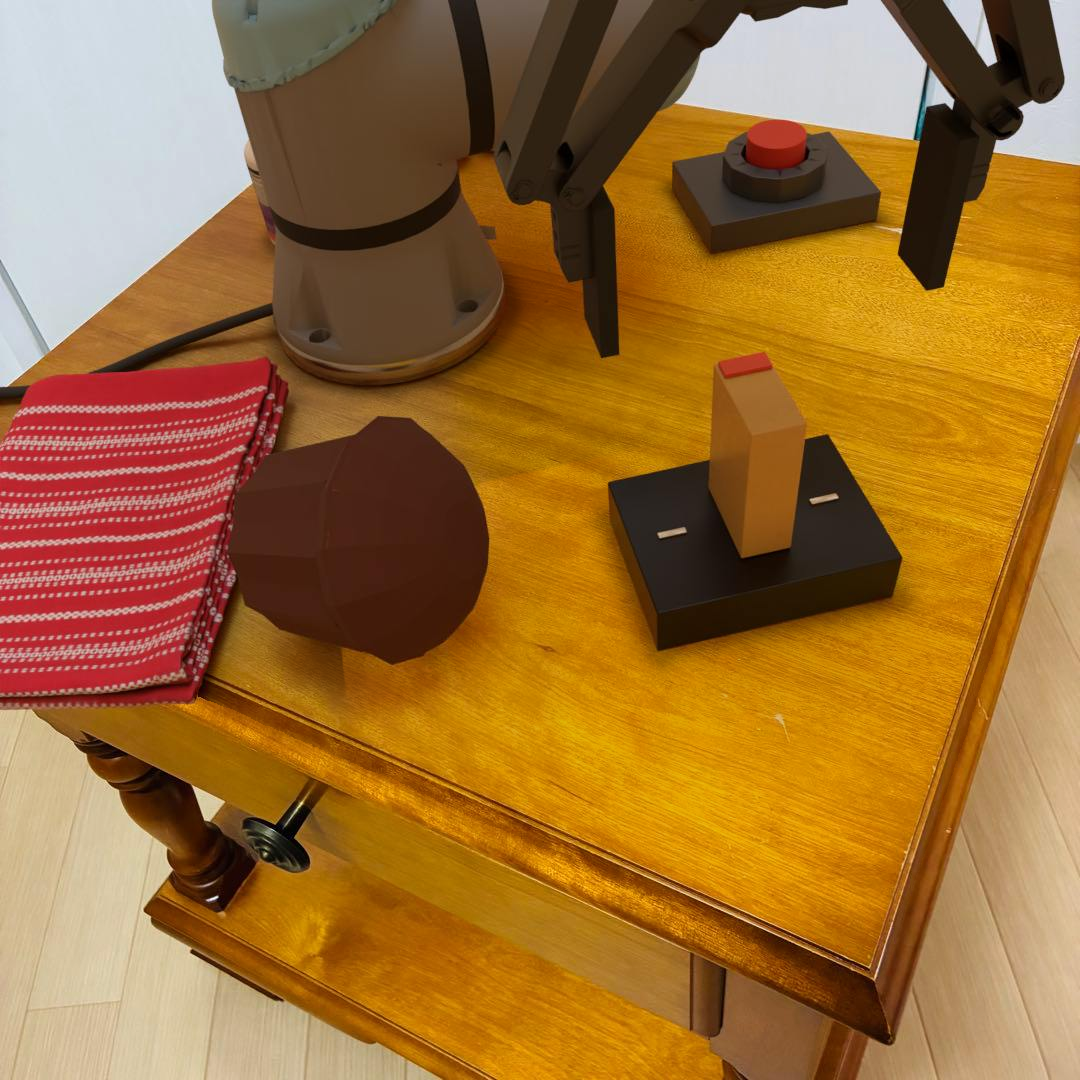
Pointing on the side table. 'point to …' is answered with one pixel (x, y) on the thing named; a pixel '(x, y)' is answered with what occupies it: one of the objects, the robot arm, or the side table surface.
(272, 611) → the muffin
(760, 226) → the box
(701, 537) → the lock plate
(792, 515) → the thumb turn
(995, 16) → the robot arm
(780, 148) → the release button
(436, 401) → the side table surface
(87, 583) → the dish towel
